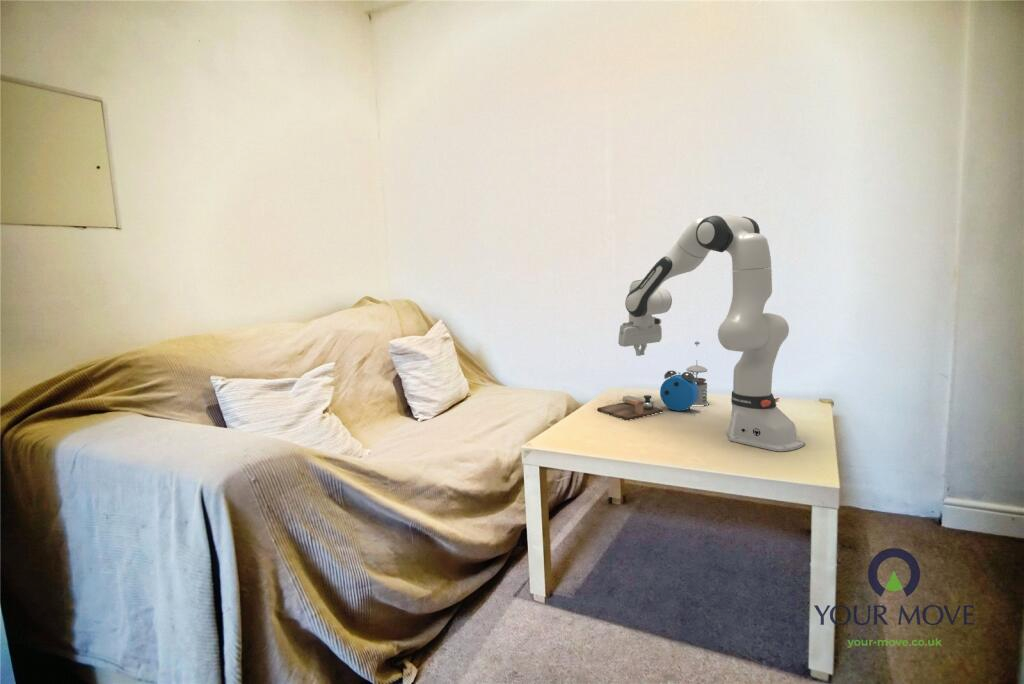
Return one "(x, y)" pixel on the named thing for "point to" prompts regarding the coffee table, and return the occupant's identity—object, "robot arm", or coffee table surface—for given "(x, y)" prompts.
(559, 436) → the coffee table surface
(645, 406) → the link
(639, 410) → the keeper
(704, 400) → the french press
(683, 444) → the coffee table surface
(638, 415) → the pivot board
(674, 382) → the alarm clock
